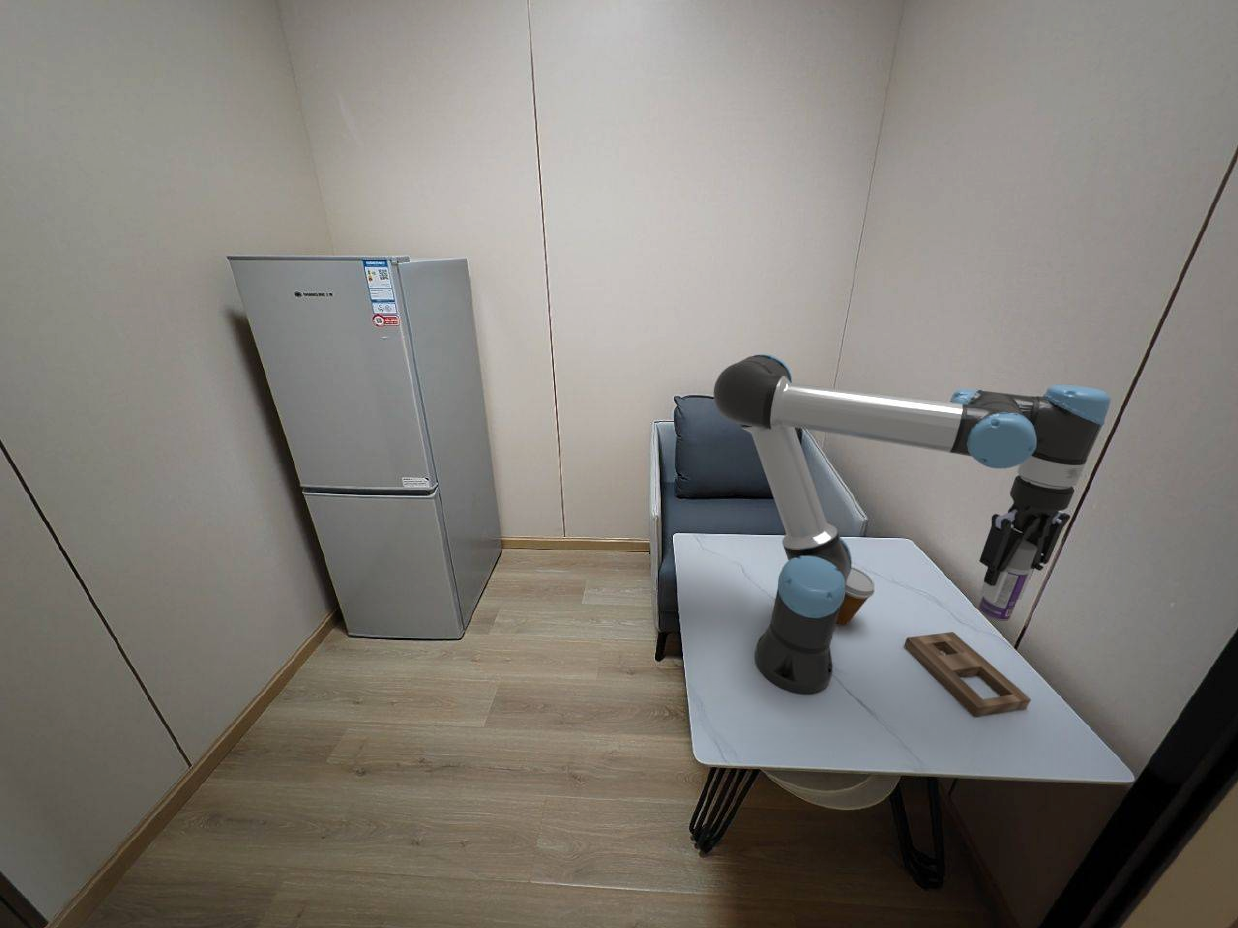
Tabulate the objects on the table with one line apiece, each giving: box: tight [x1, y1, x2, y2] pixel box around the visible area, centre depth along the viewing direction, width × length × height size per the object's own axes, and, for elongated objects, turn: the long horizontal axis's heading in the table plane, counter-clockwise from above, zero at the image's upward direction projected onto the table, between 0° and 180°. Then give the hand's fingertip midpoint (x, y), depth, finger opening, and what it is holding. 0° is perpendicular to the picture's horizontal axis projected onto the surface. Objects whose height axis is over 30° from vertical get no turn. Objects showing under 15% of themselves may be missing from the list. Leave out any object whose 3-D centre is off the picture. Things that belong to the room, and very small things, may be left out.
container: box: [978, 540, 1037, 622], centre depth 84 cm, size 5×5×15 cm
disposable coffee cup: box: [835, 566, 875, 627], centre depth 109 cm, size 10×10×12 cm
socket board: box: [903, 631, 1032, 718], centre depth 97 cm, size 12×18×2 cm, turn 11°
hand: (1000, 596), depth 86 cm, fingers closed on container, 5 cm apart
